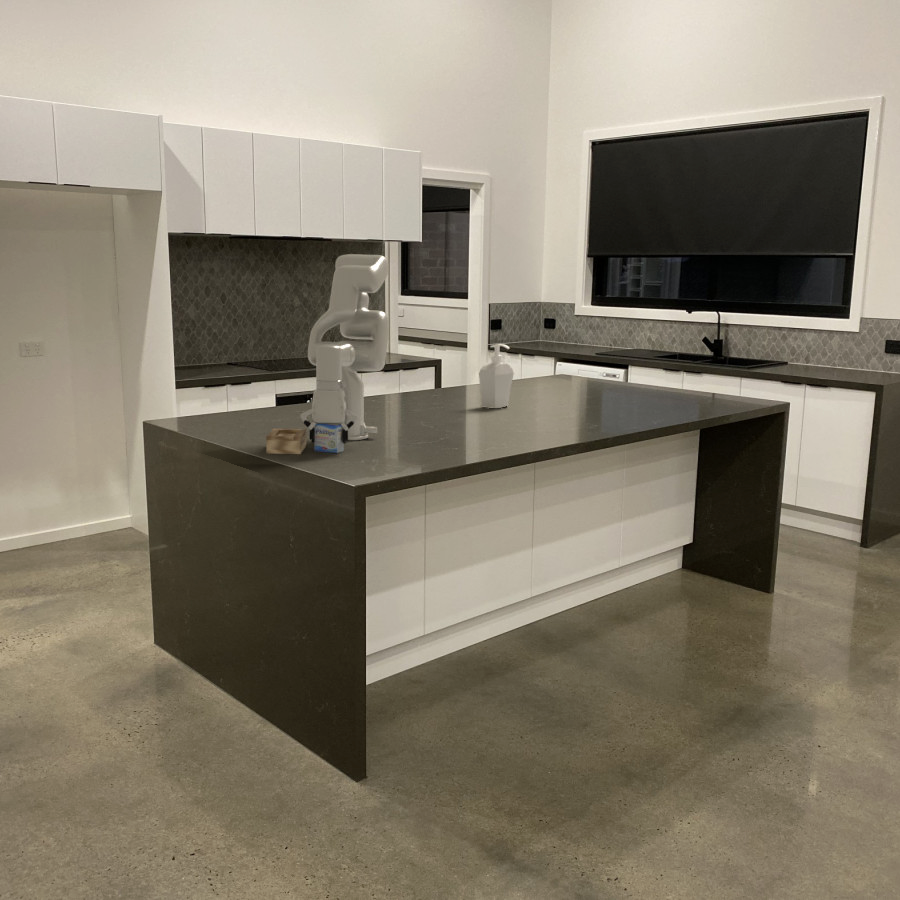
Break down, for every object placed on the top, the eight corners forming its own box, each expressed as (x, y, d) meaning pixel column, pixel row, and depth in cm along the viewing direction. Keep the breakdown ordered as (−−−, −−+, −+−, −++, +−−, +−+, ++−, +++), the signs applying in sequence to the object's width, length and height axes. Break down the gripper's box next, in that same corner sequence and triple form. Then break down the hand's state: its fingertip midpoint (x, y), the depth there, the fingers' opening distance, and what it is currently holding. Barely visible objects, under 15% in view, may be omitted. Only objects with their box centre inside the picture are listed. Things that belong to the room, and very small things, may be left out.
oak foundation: (306, 445, 283) (306, 429, 282) (300, 454, 270) (300, 437, 269) (273, 445, 283) (273, 428, 282) (266, 453, 270) (266, 436, 269)
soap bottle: (497, 410, 363) (499, 345, 357) (477, 407, 369) (479, 344, 364) (515, 407, 372) (518, 344, 367) (496, 404, 378) (498, 342, 373)
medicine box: (313, 451, 275) (313, 423, 273) (320, 448, 279) (320, 420, 277) (337, 453, 272) (337, 425, 271) (343, 451, 276) (344, 423, 275)
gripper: (358, 385, 276) (358, 440, 279) (301, 383, 275) (301, 439, 278) (356, 388, 268) (356, 445, 271) (298, 386, 268) (298, 444, 271)
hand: (328, 442), depth 275 cm, fingers closed on medicine box, 9 cm apart
